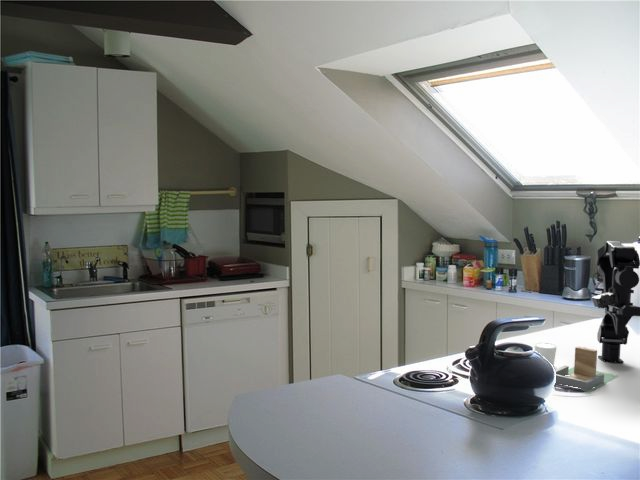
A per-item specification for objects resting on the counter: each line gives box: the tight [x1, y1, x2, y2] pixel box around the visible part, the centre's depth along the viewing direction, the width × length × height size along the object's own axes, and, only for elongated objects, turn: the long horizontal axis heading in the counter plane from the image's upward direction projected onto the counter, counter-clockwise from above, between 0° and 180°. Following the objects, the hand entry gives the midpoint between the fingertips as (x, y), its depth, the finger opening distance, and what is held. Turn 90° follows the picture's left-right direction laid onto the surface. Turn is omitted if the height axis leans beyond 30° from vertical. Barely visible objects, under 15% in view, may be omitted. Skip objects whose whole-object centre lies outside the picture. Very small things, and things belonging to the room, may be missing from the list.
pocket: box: [554, 365, 604, 392], centre depth 209 cm, size 12×12×2 cm
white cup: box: [534, 342, 557, 366], centre depth 226 cm, size 7×7×7 cm
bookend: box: [567, 346, 598, 381], centre depth 210 cm, size 11×6×9 cm, turn 136°
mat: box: [556, 366, 619, 393], centre depth 213 cm, size 22×14×1 cm, turn 136°
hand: (618, 334), depth 220 cm, fingers closed
